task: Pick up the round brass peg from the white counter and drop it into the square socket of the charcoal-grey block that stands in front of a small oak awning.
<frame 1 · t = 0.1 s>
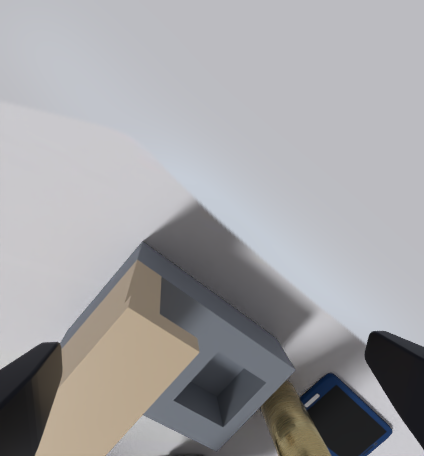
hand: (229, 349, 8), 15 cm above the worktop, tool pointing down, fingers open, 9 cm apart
socket block: (180, 335, 24), on the worktop
cell phone: (336, 418, 31), on the worktop
peg: (276, 395, 28), on the worktop
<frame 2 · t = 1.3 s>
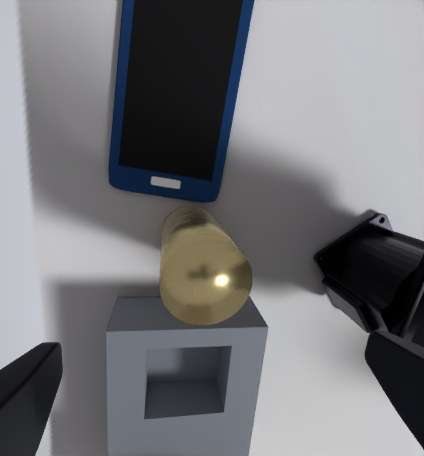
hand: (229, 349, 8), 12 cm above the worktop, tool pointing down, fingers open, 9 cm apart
socket block: (180, 383, 22), on the worktop
cell phone: (178, 88, 17), on the worktop
peg: (190, 233, 19), on the worktop
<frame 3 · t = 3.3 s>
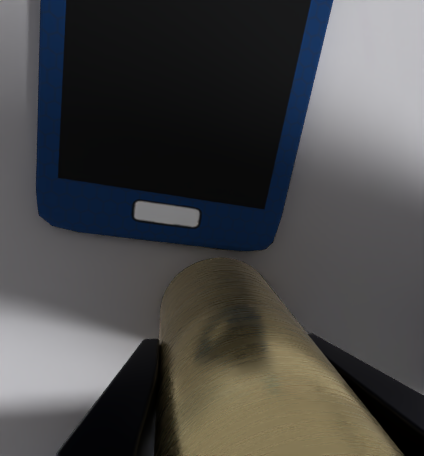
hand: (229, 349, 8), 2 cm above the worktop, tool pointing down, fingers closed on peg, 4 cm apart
cell phone: (196, 3, 8), on the worktop
peg: (217, 310, 9), on the worktop, touching gripper
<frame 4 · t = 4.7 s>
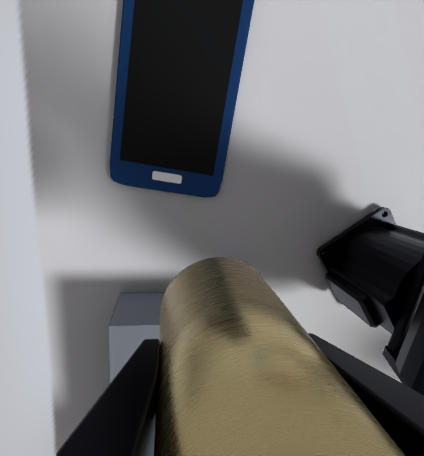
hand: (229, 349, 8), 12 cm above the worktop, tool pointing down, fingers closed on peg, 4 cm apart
socket block: (183, 379, 22), on the worktop
cell phone: (179, 82, 17), on the worktop
peg: (217, 309, 9), point 10 cm above the worktop, touching gripper
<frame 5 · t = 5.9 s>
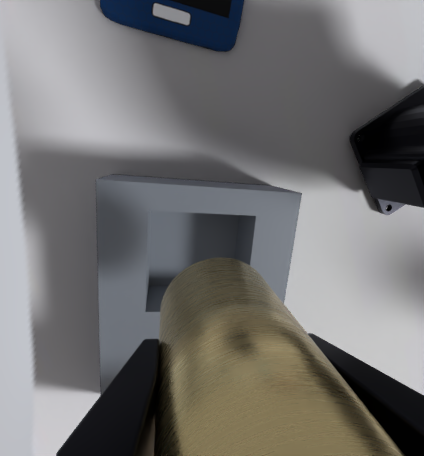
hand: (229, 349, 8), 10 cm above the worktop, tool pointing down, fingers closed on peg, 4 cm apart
socket block: (189, 296, 18), on the worktop
peg: (217, 310, 9), point 8 cm above the worktop, touching gripper
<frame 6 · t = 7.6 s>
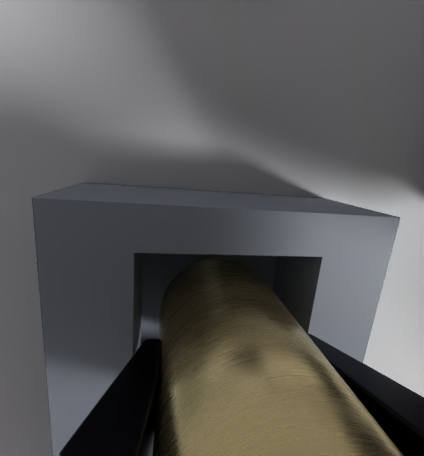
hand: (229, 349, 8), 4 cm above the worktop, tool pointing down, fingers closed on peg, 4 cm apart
socket block: (200, 356, 13), on the worktop
peg: (216, 310, 9), point 2 cm above the worktop, touching gripper
when the fingers open (4 cm above the worktop, at t = 7.8 s): peg drops 1 cm, resting on socket block.
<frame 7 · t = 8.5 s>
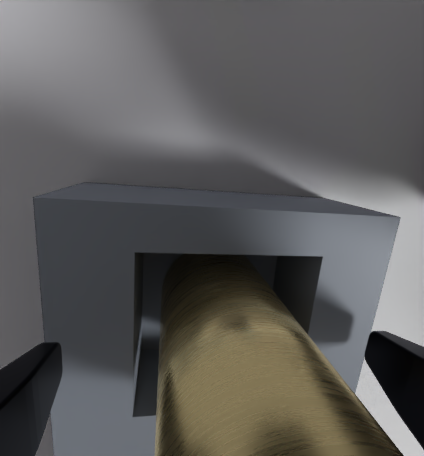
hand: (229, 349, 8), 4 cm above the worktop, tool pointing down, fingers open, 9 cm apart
socket block: (200, 356, 13), on the worktop
peg: (211, 290, 11), point 1 cm above the worktop, touching socket block
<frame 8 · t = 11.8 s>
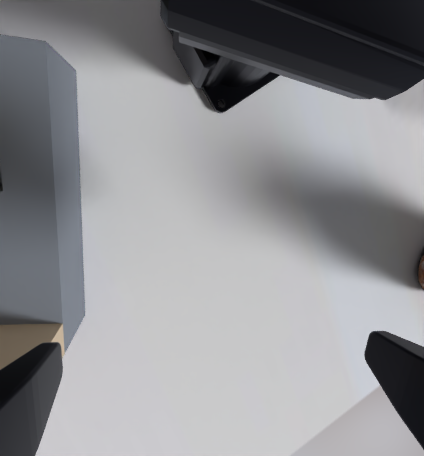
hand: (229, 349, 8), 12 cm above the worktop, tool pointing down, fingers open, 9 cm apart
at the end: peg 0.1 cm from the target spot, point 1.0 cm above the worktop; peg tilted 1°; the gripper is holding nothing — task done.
